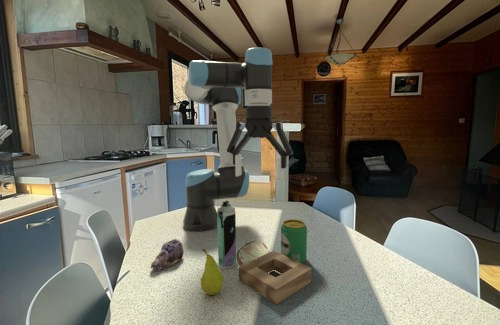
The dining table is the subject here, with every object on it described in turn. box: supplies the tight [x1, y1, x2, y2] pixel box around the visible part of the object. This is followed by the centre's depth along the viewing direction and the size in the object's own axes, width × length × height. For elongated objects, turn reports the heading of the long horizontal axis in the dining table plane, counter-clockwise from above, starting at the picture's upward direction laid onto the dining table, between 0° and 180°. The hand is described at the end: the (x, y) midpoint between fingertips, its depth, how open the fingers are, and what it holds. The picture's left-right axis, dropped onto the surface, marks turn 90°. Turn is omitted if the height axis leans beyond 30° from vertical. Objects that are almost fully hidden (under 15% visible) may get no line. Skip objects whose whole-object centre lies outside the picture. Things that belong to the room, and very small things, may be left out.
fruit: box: [200, 248, 224, 296], centre depth 68 cm, size 6×6×12 cm
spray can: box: [216, 200, 237, 270], centre depth 82 cm, size 6×6×20 cm
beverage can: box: [280, 218, 308, 264], centre depth 85 cm, size 8×8×12 cm
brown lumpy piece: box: [150, 238, 185, 272], centre depth 84 cm, size 12×8×6 cm, turn 149°
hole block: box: [237, 250, 313, 306], centre depth 74 cm, size 14×14×4 cm
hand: (258, 177), depth 82 cm, fingers open, 13 cm apart
